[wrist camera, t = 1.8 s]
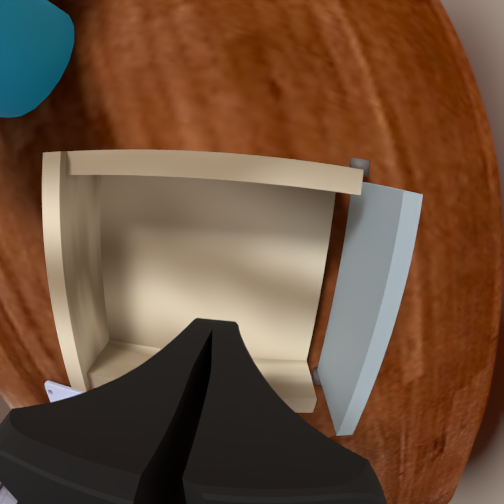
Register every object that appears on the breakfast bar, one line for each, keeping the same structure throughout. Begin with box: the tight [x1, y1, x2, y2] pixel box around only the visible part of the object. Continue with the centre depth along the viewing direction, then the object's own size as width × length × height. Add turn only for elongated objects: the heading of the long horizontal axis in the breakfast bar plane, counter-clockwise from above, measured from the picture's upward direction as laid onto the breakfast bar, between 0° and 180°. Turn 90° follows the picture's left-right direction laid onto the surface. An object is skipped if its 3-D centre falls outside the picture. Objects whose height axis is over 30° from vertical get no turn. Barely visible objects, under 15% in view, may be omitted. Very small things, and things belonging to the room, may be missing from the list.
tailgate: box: [317, 182, 423, 436], centre depth 13 cm, size 11×1×5 cm, turn 175°
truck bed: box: [42, 150, 370, 413], centre depth 14 cm, size 13×15×5 cm
